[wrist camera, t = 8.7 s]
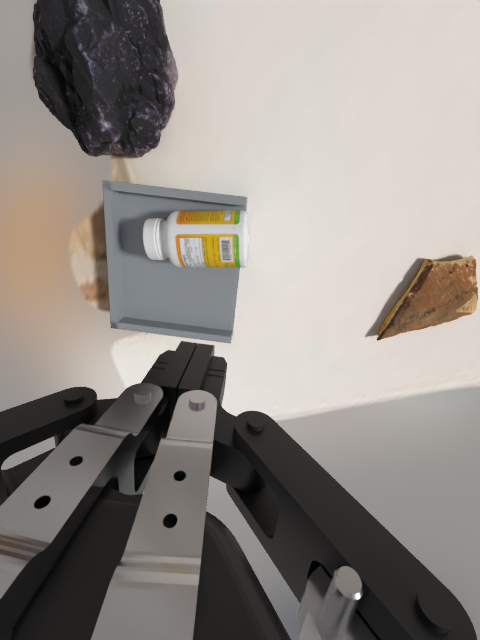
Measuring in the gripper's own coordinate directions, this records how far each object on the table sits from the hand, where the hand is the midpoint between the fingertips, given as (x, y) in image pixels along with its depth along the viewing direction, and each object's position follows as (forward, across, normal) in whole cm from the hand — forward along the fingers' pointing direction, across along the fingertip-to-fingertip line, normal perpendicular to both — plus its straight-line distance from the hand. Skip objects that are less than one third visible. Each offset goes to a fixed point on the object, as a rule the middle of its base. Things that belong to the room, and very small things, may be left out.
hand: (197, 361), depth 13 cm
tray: (+21, +6, 0) cm, 22 cm away
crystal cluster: (+22, +13, -16) cm, 30 cm away
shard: (+22, -23, +1) cm, 31 cm away
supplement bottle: (+18, -1, -4) cm, 18 cm away
